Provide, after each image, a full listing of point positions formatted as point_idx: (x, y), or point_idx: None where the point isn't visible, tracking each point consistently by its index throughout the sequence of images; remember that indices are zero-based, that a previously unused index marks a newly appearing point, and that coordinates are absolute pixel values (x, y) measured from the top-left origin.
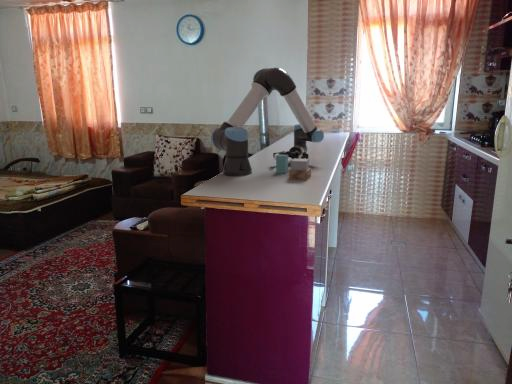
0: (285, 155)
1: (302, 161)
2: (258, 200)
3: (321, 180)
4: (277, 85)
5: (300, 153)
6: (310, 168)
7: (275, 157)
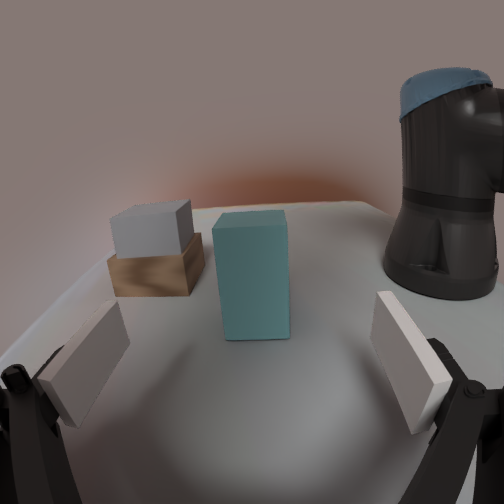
0: (226, 218)
1: (147, 204)
2: (242, 205)
3: (100, 272)
4: None
5: (29, 467)
6: (113, 255)
7: (374, 314)
